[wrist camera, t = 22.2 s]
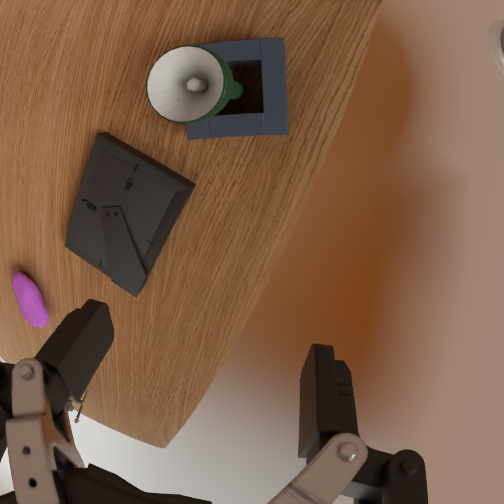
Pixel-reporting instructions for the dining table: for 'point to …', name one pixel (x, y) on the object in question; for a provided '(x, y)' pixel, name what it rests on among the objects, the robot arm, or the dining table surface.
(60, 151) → the dining table surface
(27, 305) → the blob
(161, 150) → the dining table surface
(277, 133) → the hollow square frame
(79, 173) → the dining table surface
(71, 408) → the wizard figurine
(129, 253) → the picture frame
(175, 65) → the flashlight
